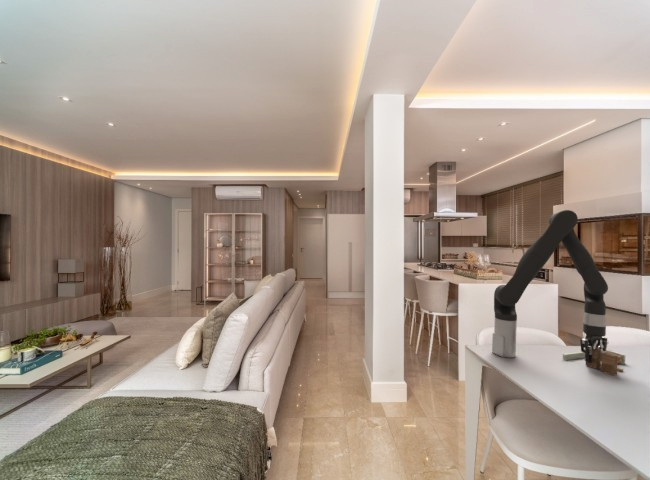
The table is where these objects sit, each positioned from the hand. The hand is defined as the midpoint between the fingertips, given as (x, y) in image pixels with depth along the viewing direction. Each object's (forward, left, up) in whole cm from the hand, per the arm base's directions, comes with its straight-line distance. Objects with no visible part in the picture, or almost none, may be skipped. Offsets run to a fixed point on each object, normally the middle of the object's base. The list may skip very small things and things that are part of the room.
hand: (593, 361), depth 135 cm
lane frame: (+8, +5, -3) cm, 10 cm away
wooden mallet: (+8, +3, -2) cm, 9 cm away
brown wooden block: (+3, -6, -3) cm, 7 cm away
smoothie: (+12, +5, -3) cm, 14 cm away
